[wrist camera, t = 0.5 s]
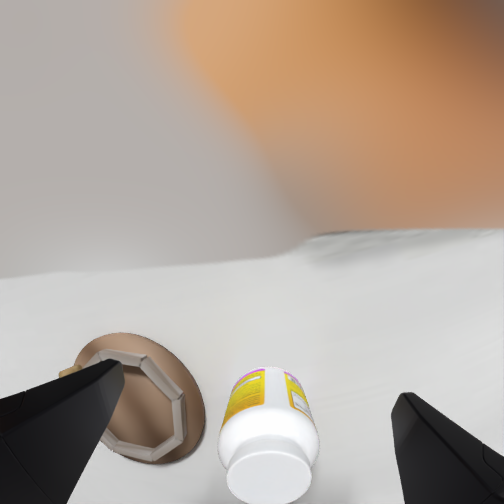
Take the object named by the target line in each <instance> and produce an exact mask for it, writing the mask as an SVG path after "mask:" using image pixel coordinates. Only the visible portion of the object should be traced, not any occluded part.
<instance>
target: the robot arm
mask: <svg viewBox="0 0 504 504" xmlns="http://www.w3.org/2000/svg"><path fill="white" fill-rule="evenodd" d="M124 385H125V377H124V372H123V367H122V363H121V362H120V361H119V360H115V359H112V358H109V359H106V360H104V361H101V362H99V363H96V364H94V365H91V366H89V367H86V368H84V369H81V370H79V371H76V372H74V373H71V374H68V375H66V376H63V377H61V378H58V379H55V380H53V381H50V382H47V383H45V384H42V385H39V386H37V387H34V388H31V389H29V390H26V392H25V391H23V392H20V393H17V394H14V395H11V396H8V397H5V398H2V399H0V504H67V502H68V500H69V498H70V496H71V494H72V492H73V490H74V488H75V486H76V484H77V482H78V480H79V478H80V476H81V474H82V472H83V470H84V468H85V467H86V465H87V463H88V461H89V459H90V457H91V455H92V453H93V452H94V450H95V448H96V446H97V444H98V442H99V440H100V439H101V437H102V435H103V433H104V431H105V429H106V428H107V426H108V424H109V422H110V420H111V417H112V415H113V413H114V410H115V408H116V405H117V403H118V400H119V398H120V395H121V393H122V391H123V388H124ZM391 420H392V428H393V437H394V447H395V455H396V460H397V465H398V469H399V474H400V479H401V485H402V490H403V496H404V501H405V504H504V457H503V456H502V455H500V454H499V453H497V452H496V451H494V450H492V449H491V448H490V447H488V446H487V445H485V444H482V442H481V441H480V440H478V439H477V438H475V437H474V436H473V435H471V434H470V433H468V432H467V431H466V430H464V429H463V428H461V427H460V426H459V425H457V424H456V423H454V422H453V421H452V420H450V419H449V418H447V417H446V416H445V415H443V414H442V413H440V412H439V411H438V410H436V409H435V408H434V407H432V406H431V405H429V404H428V403H427V402H425V401H424V400H423V399H421V398H420V397H418V396H417V395H416V394H414V393H413V392H405V393H401V394H400V395H399V397H398V399H397V401H396V403H395V406H394V408H393V410H392V413H391Z"/></svg>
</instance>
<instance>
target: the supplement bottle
mask: <svg viewBox="0 0 504 504" xmlns="http://www.w3.org/2000/svg"><path fill="white" fill-rule="evenodd" d="M217 448H218V455H219V458H220V461H221V463H222V465H223V466H224V467H225V469H226V470H227V475H226V481H227V485H228V488H229V490H230V491H231V492H232V494H233V495H234V496H235V497H237V498H238V499H240V500H241V501H243V502H246V503H248V504H288V503H291V502H293V501H295V500H297V499H298V498H300V497H301V496H302V495H303V494H304V493H305V492H306V491H307V490H308V488H309V487H310V484H311V481H312V473H311V468H312V466H313V465H314V463H315V461H316V459H317V457H318V454H319V449H320V440H319V435H318V432H317V429H316V426H315V424H314V421H313V418H312V415H311V412H310V409H309V405H308V402H307V399H306V396H305V394H304V391H303V388H302V386H301V384H300V383H299V381H298V380H297V379H296V378H295V377H294V376H293V375H292V374H291V373H289V372H288V371H286V370H283V369H281V368H277V367H259V368H256V369H253V370H250V371H249V372H247V373H245V374H244V375H243V376H241V377H240V378H239V380H238V381H237V382H236V384H235V385H234V387H233V390H232V393H231V396H230V399H229V403H228V406H227V410H226V413H225V417H224V420H223V424H222V427H221V430H220V434H219V438H218V446H217Z"/></svg>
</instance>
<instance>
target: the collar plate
mask: <svg viewBox="0 0 504 504" xmlns="http://www.w3.org/2000/svg"><path fill="white" fill-rule="evenodd" d="M109 358H112V359H115V360H119V361H120V362H121V363H122V367H123V372H124V377H125V385H124V388H123V391H122V393H121V395H120V398H119V400H118V403H117V405H116V408H115V410H114V413H113V415H112V417H111V420H110V422H109V424H108V426H107V428H106V429H105V431H104V433H103V435H102V437H101V439H100V441H101V442H103V443H104V444H105V445H106V446H107V447H108V448H109V449H110V450H113V452H115V453H118V454H120V455H122V456H124V457H127V458H129V459H132V460H135V461H138V462H143V463H150V464H162V463H168V462H172V461H175V460H178V459H180V458H181V457H183V456H185V455H186V454H187V453H189V452H190V451H191V450H192V449H193V448H194V446H195V445H196V443H197V442H198V440H199V438H200V436H201V433H202V430H203V427H204V422H205V410H204V403H203V399H202V395H201V393H200V390H199V388H198V385H197V384H196V382H195V380H194V378H193V376H192V375H191V374H190V372H189V371H188V369H187V368H186V367H185V366H184V365H183V363H182V362H181V361H180V360H179V359H178V358H177V357H176V356H175V355H174V354H172V353H171V352H170V351H168V350H167V349H166V348H165V347H163V346H161V345H160V344H158V343H156V342H154V341H152V340H150V339H148V338H145V337H142V336H139V335H135V334H130V333H112V334H108V335H104V336H101V337H99V338H97V339H94V340H93V341H91V342H90V343H88V344H87V345H86V346H85V347H84V348H83V349H82V350H81V352H80V353H79V355H78V357H77V359H76V361H75V364H74V366H72V367H70V368H68V369H65V370H63V371H61V372H59V378H61V377H63V376H66V375H68V374H71V373H74V372H76V371H79V370H81V369H84V368H86V367H89V366H91V365H94V364H96V363H99V362H101V361H104V360H106V359H109Z"/></svg>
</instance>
